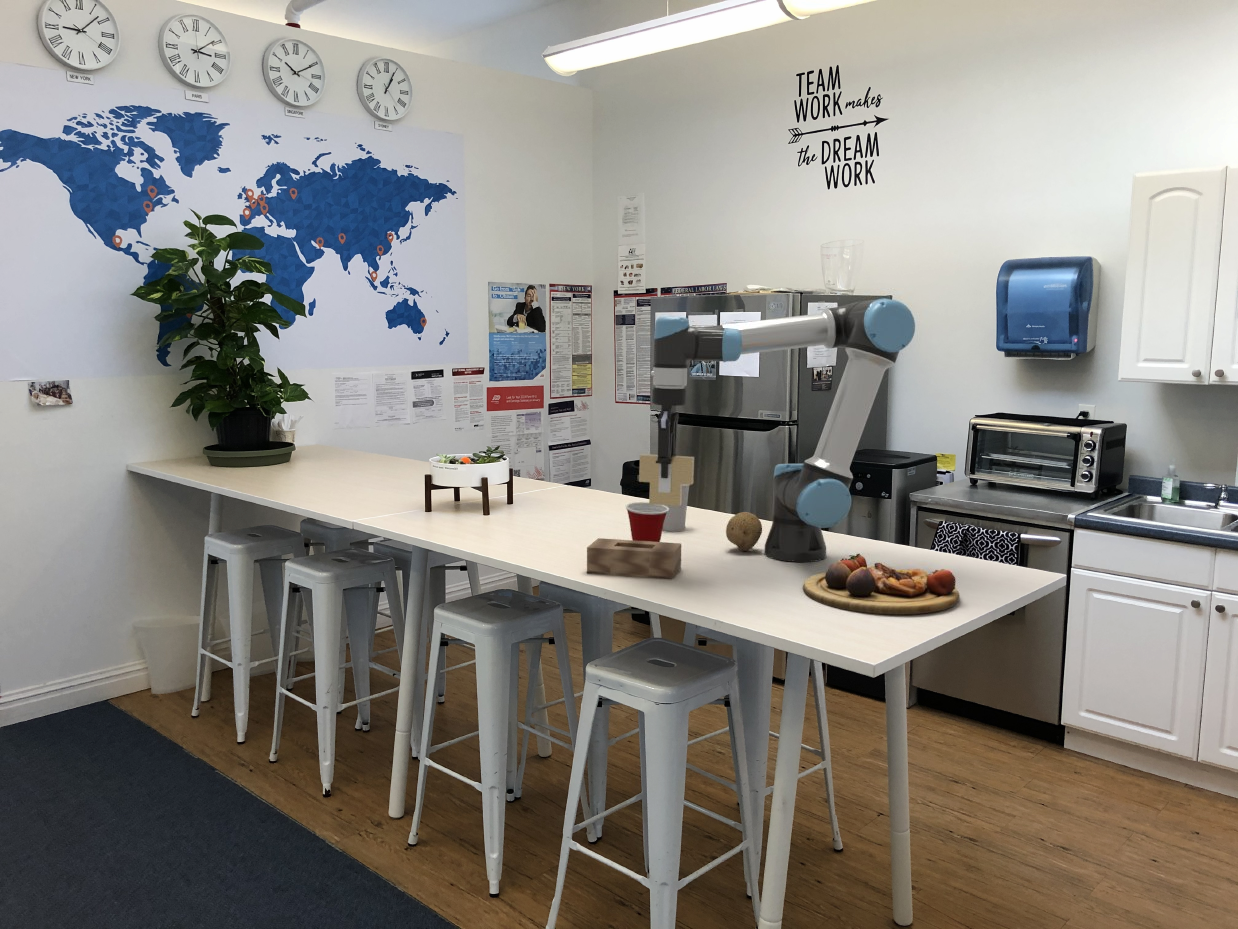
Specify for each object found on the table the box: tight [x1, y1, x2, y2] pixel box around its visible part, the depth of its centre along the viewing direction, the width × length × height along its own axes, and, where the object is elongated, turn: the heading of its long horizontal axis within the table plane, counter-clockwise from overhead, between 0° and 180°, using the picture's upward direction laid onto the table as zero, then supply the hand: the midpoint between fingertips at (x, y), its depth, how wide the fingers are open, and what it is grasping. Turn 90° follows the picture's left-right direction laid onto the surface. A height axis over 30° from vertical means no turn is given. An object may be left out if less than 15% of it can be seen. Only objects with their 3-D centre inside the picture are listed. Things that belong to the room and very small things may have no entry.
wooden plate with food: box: [802, 553, 960, 615], centre depth 204 cm, size 32×32×8 cm
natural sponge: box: [725, 511, 763, 552], centre depth 242 cm, size 9×9×10 cm
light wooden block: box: [638, 453, 695, 506], centre depth 216 cm, size 12×2×11 cm, turn 77°
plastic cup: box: [625, 501, 669, 542], centre depth 238 cm, size 11×11×12 cm
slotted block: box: [586, 537, 682, 580], centre depth 221 cm, size 20×10×6 cm, turn 76°
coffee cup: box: [662, 484, 690, 532], centre depth 267 cm, size 10×10×15 cm
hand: (665, 490), depth 217 cm, fingers closed on light wooden block, 2 cm apart
